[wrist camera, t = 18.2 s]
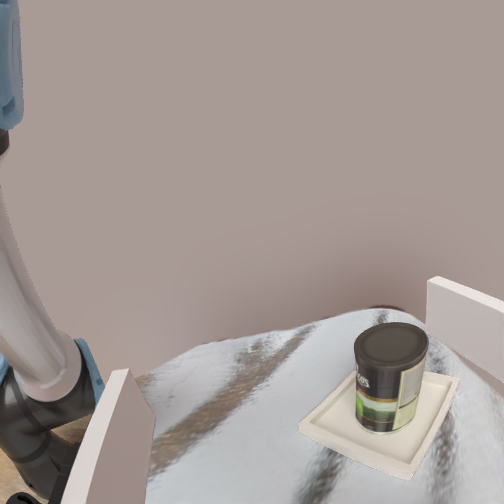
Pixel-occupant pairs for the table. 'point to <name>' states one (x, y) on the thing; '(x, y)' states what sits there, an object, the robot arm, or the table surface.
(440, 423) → the serving tray
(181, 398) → the table surface
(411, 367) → the coffee can
